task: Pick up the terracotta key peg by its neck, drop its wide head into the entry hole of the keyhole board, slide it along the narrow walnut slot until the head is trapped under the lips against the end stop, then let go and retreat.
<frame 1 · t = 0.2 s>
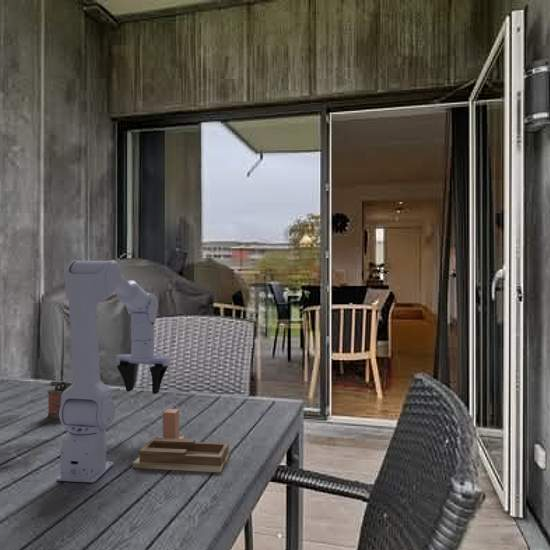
hand: (142, 391, 133), 10 cm above the table, fingers open, 7 cm apart
keyhole board: (183, 460, 113), on the table
key peg: (171, 443, 124), on the table
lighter: (62, 416, 145), on the table
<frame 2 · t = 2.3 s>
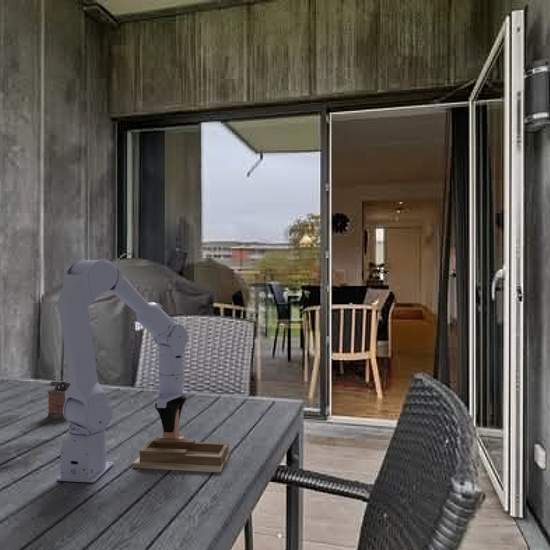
hand: (171, 429, 124), 3 cm above the table, fingers closed on key peg, 3 cm apart
key peg: (171, 443, 124), on the table, touching gripper
everything else where it was.
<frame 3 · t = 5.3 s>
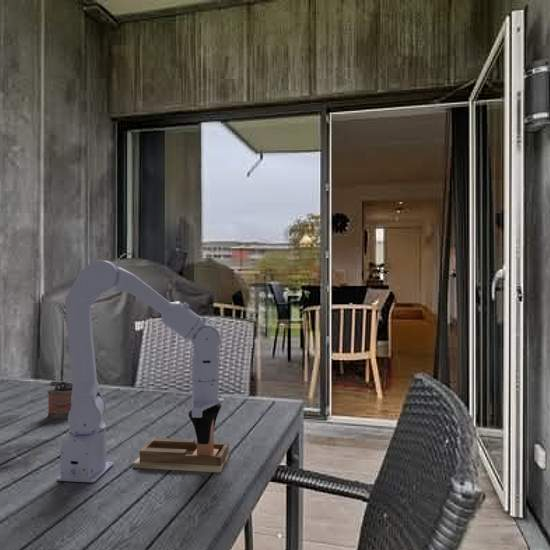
hand: (205, 440, 112), 5 cm above the table, fingers closed on key peg, 3 cm apart
key peg: (205, 457, 113), point 1 cm above the table, touching gripper
everything else where it was.
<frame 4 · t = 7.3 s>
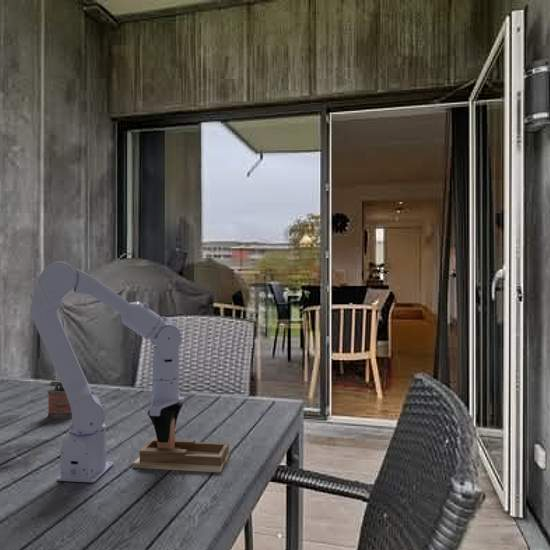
hand: (165, 439, 113), 5 cm above the table, fingers closed on key peg, 3 cm apart
key peg: (166, 455, 114), point 1 cm above the table, touching gripper
everything else where it was.
when the fingers open (5 cm above the table, at t = 8.7 s): key peg stays where it is, resting on keyhole board.
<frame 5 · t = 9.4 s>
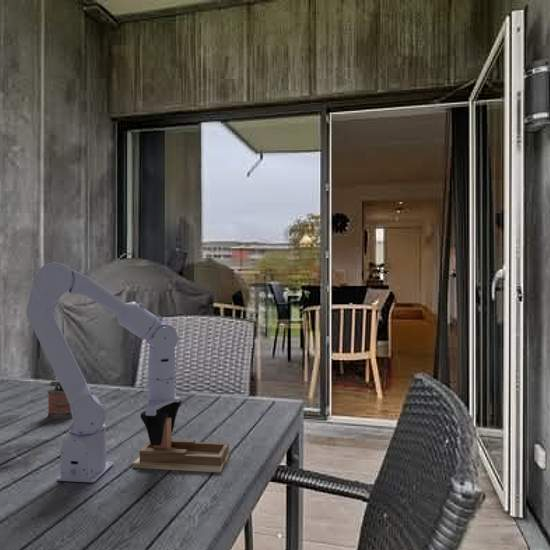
hand: (161, 438, 114), 5 cm above the table, fingers open, 7 cm apart
key peg: (162, 455, 114), point 1 cm above the table, touching keyhole board
everything else where it was.
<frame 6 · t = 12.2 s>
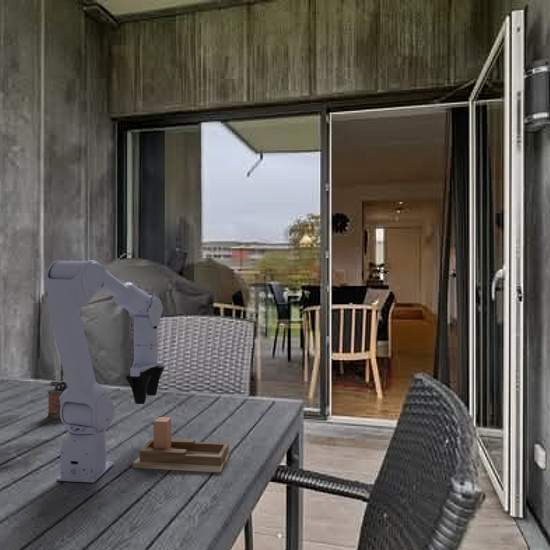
hand: (145, 399, 126), 10 cm above the table, fingers open, 7 cm apart
nothing on the table moved.
at the end: key peg 0.1 cm from the target spot on the keyhole board, point 1.0 cm above the keyhole board's base; key peg tilted 0°; the gripper is holding nothing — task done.
